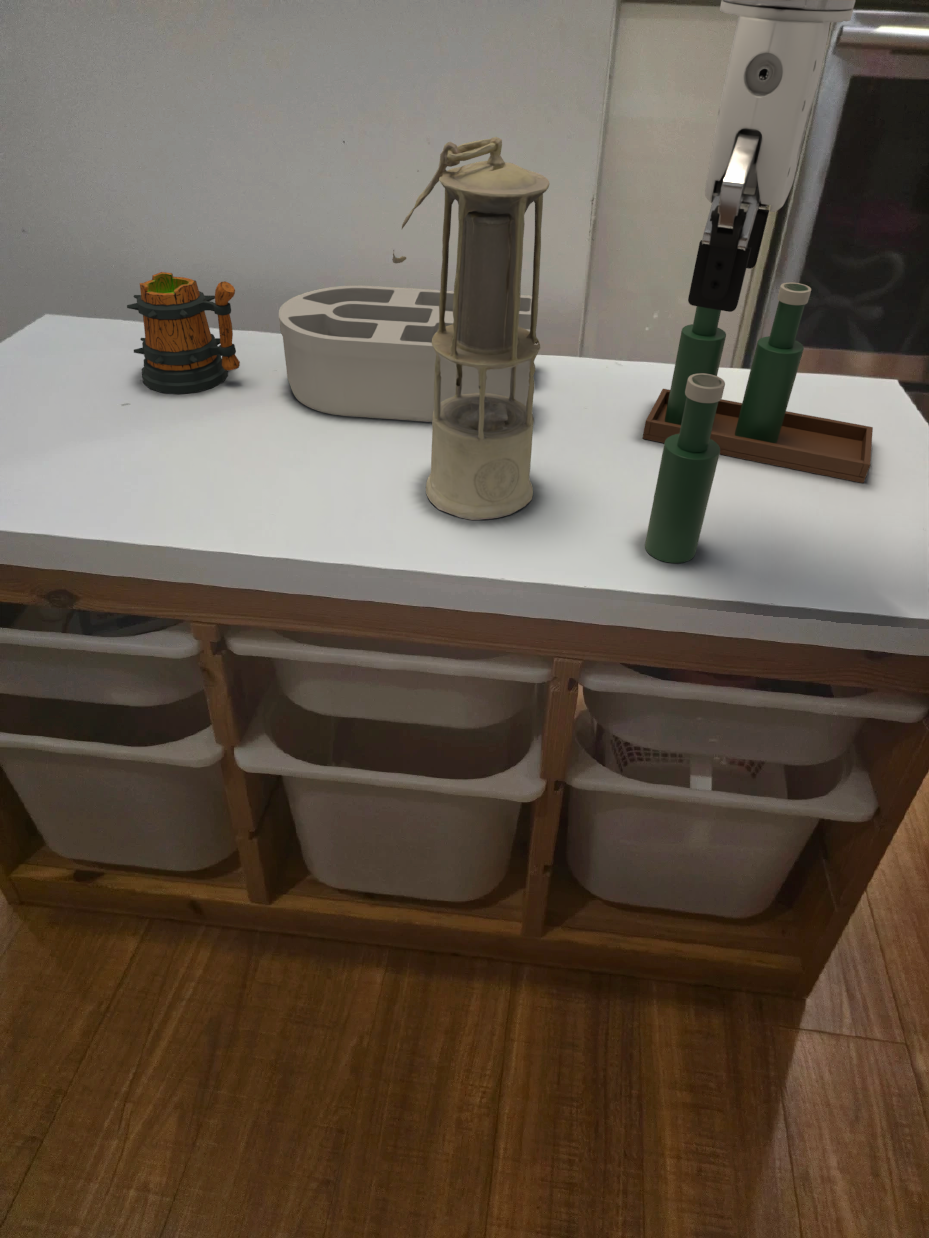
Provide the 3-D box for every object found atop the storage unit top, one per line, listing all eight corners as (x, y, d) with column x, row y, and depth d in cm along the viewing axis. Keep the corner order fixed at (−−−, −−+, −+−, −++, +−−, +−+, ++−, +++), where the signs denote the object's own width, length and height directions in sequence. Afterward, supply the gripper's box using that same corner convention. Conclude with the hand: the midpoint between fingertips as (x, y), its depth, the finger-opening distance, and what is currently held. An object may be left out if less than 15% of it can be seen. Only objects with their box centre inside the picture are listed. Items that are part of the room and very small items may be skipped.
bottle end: (698, 413, 94) (730, 268, 84) (711, 432, 91) (745, 283, 81) (659, 414, 94) (686, 268, 84) (670, 433, 90) (700, 283, 81)
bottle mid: (768, 426, 92) (809, 279, 82) (783, 446, 89) (828, 295, 79) (728, 427, 92) (764, 279, 82) (742, 447, 88) (782, 295, 79)
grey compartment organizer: (527, 431, 91) (533, 352, 86) (269, 413, 93) (259, 335, 87) (533, 368, 104) (539, 296, 98) (306, 353, 106) (300, 281, 100)
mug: (122, 387, 97) (96, 283, 90) (171, 353, 104) (151, 255, 97) (225, 404, 94) (208, 299, 87) (267, 369, 102) (255, 269, 94)
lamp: (518, 528, 77) (548, 156, 58) (382, 503, 79) (367, 139, 60) (543, 473, 84) (576, 128, 65) (418, 452, 87) (415, 115, 68)
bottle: (687, 533, 77) (725, 368, 67) (702, 562, 73) (744, 392, 63) (639, 535, 76) (670, 369, 66) (651, 564, 73) (686, 393, 63)
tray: (866, 445, 91) (873, 427, 89) (863, 483, 84) (870, 464, 83) (659, 405, 97) (662, 388, 95) (642, 438, 91) (645, 420, 89)
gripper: (851, 0, 42) (761, 337, 53) (864, -18, 55) (789, 258, 66) (700, -11, 44) (643, 316, 55) (745, -26, 57) (692, 244, 68)
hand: (723, 285), depth 61 cm, fingers open, 9 cm apart
